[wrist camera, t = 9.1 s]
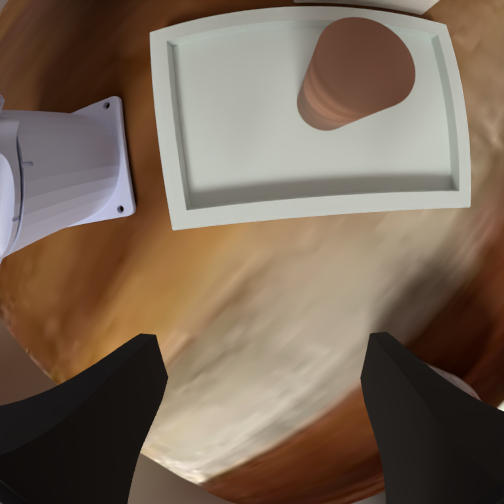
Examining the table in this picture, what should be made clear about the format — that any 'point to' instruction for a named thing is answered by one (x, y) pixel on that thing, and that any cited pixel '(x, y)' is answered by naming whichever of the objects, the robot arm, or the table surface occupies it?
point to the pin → (354, 74)
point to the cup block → (384, 4)
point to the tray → (299, 123)
